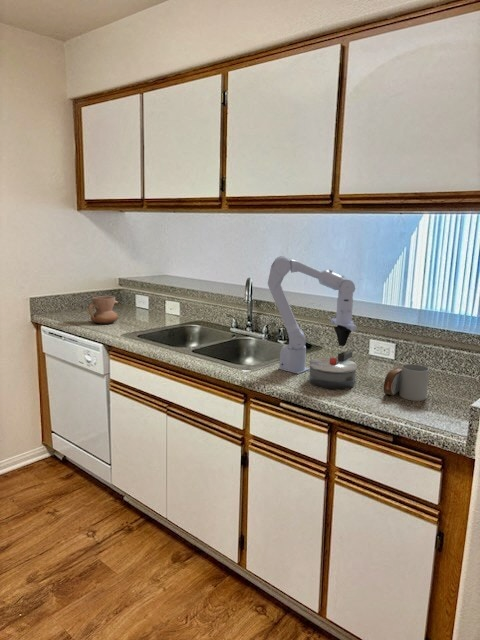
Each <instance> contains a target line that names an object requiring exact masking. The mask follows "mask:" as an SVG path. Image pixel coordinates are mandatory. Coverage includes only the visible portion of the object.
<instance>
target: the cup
mask: <svg viewBox="0 0 480 640" xmlns="http://www.w3.org/2000/svg"><path fill="white" fill-rule="evenodd" d="M401 367H402V372H401V383H400V392H399V397H400V398H402V399H405V400H409V401H412V402H413V401H415V402H422V401H425V400H426V399H427V394H428V393H427V392H428V382H429V375H430V374H429V373H430V368H429V367H428V366H425V365H421V364H418V363H417V364H415V363H405V364H403V365H402V366H401Z"/></svg>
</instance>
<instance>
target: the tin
mask: <svg viewBox="0 0 480 640" xmlns="http://www.w3.org/2000/svg"><path fill="white" fill-rule="evenodd" d="M401 372H402V366H401V365H398V366H396V367H394V368H392V369H390V370H389V371H388V372H387V374H386V376H385V379H384V382H383V394H385V395H389V396H395V395H397V394H398V393H400V383H401Z"/></svg>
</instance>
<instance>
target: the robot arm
mask: <svg viewBox="0 0 480 640" xmlns="http://www.w3.org/2000/svg"><path fill="white" fill-rule="evenodd" d="M288 273H291V274H292V273H302V274H305V275H307V276H309V277H312V278H314V279H316V280H318V282H319V284H320V285H322V286H325V287H327V288H329V289H332V290H333V291H338V293H337V294H338V295H337V300H336V302H337V303H336V312H335V313H336V316H335V317H336V318H335V317H334V318H331V319H330V324H332V325H333V324H334V325H336V326H334V327H333V329H334V331H335V335H336V337H337V343H338V346H340V347H345V346H346V345H347V342H348V339H349V337H350V335H351V333H352V332H356V331H357V329H358V327H357V325H356V324H354V323H355V322H354V320H353V321H352V319H353V318H352V316H353V305H354V304H353V302H354V293H355V291H356V285H355V283H354V282H353V281H352V280H351V279H350V278H348V277H345V275H343V274H341V275H339V274H338V273H335V272H334V271H333V270H332V269H324V270H319V269H318V268H315V267H313V266H310V265H308V264H306V263H303V262H301V261H300V260H297V259H292V258H287V257H285V256H282V255H280V256H277V257H276V258H275V259H274V260H273V262H272V263H271V266H270V271H269V275H268V279H267V280H268V281H267V286H268V288H269V291H270V293H271V295H272V298H273V301H274V303H275V305H276V307H277V310H278V312H279V315H280V317H281V320H282V321H283V324H284V327H285V328H286V329H285V330H286V332H287V334H288V340H289V341H288V342H289V343H288V344H287V345H283V346H282V347H281V349H280V352H279V366H278V367H277V368H278V370H282V371H286V372H290V373H294V374H298V375H300V374H302V373H304V372H307V371H310V367H306V358H307V357H306V356H307V346H306V344H307V338H306V337H305V332H304V330H302V329H301V328H300V327H299V324H298V322H297V320H296V317H295V316H294V313H293V310H292V308H291V306H290V303H289V301H288V299H287V296H286V294H285V291H284V290H283V287H282V283H283V280H284V278H285V276H286V275H287V274H288Z"/></svg>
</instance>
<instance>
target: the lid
mask: <svg viewBox="0 0 480 640" xmlns="http://www.w3.org/2000/svg"><path fill="white" fill-rule="evenodd" d="M350 358H353V351H351V350H345V351H343V352H340V353H338V354H337V357H333V356H331V357H329V356H327V357H326V356H325V357H323V356H322V357H316V358H313V359H312V358H311V360H310V361H309V368H310V367H312V368H313V369H316V370H319V371H323V372H329V373H349V372H353V371H355V370H357V368H358V366H357V363H356V362H354V361H353V360H351V361H350V360H349V359H350Z"/></svg>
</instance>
